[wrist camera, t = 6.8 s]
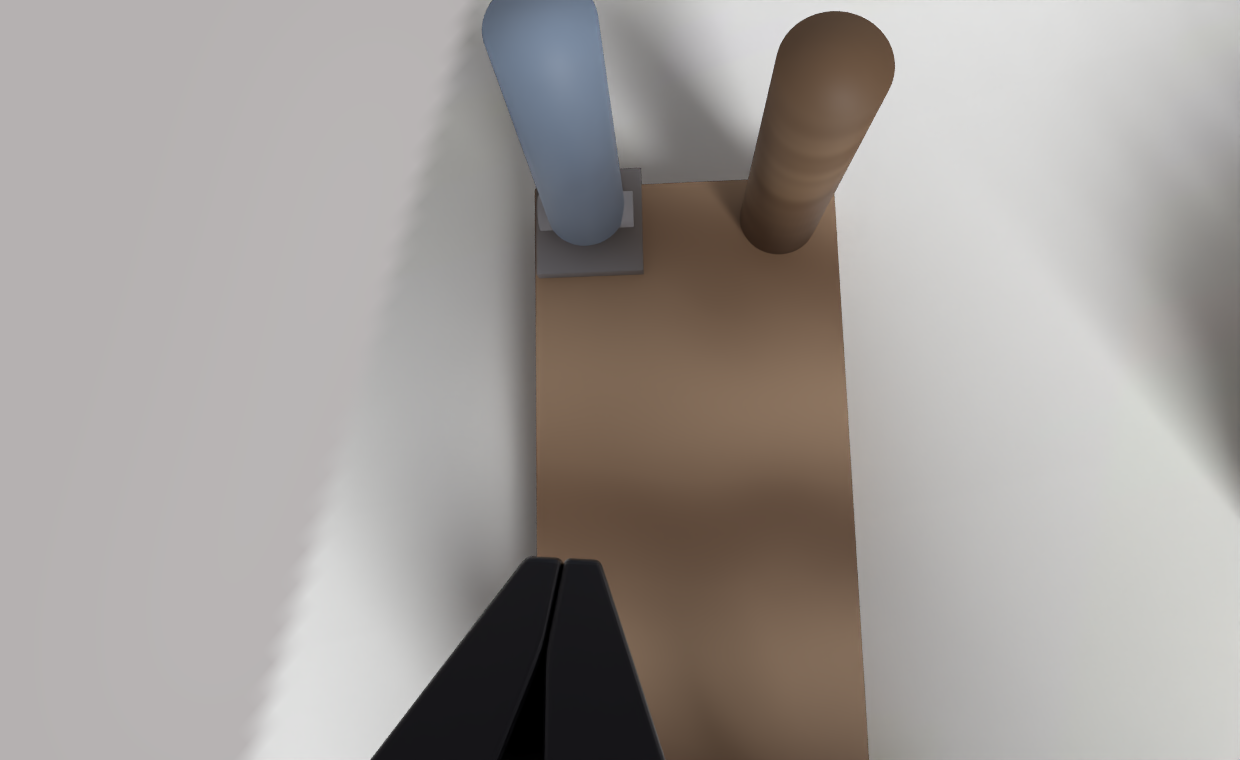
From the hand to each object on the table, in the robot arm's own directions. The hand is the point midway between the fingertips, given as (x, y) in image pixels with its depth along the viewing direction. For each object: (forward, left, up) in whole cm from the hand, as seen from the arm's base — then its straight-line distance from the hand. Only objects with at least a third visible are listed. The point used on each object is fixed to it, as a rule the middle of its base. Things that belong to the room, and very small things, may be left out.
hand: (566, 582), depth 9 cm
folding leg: (+6, +5, -11) cm, 14 cm away
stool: (+1, -2, -13) cm, 13 cm away
